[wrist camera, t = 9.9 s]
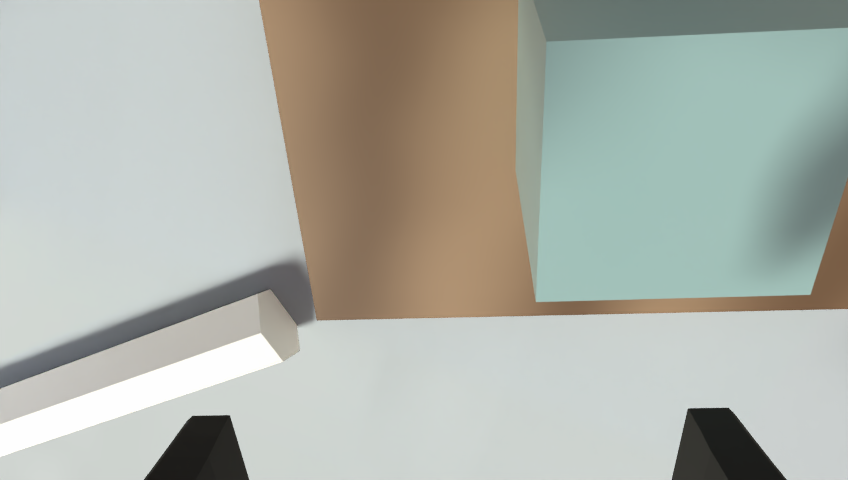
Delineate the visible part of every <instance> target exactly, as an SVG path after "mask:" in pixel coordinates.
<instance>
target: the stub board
mask: <svg viewBox="0 0 848 480" xmlns="http://www.w3.org/2000/svg"><path fill="white" fill-rule="evenodd" d="M259 3H260V8H261V14H262V19H263V25H264V30H265V36H266V41H267V47H268V53H269V58H270V64H271V69H272V75H273V80H274V86H275V91H276V97H277V102H278V108H279V113H280V119H281V125H282V130H283V136H284V141H285V147H286V152H287V158H288V163H289V169H290V174H291V180H292V185H293V191H294V197H295V202H296V208H297V213H298V219H299V224H300V230H301V235H302V241H303V246H304V252H305V257H306V263H307V269H308V274H309V280H310V285H311V291H312V296H313V302H314V307H315V313H316V318H317V320H356V319H402V318H448V317H494V316H540V315H587V314H633V313H679V312H725V311H771V310H817V309H848V178H847V182H846V185H845V188H844V191H843V194H842V197H841V200H840V204H839V207H838V210H837V213H836V216H835V219H834V222H833V225H832V229H831V232H830V235H829V238H828V241H827V244H826V247H825V250H824V254H823V257H822V260H821V263H820V266H819V269H818V272H817V276H816V279H815V282H814V285H813V288H812V291H811V294H810V295H785V296H747V297H709V298H671V299H633V300H596V301H558V302H536V300H535V293H534V287H533V280H532V274H531V267H530V261H529V254H528V248H527V241H526V235H525V228H524V222H523V215H522V209H521V203H520V196H519V190H518V183H517V177H516V170H515V167H516V110H517V52H518V0H259Z"/></svg>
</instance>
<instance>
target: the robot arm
mask: <svg viewBox="0 0 848 480" xmlns="http://www.w3.org/2000/svg"><path fill="white" fill-rule="evenodd" d="M144 480H249V478H248V474H247V471H246V468H245V465H244V461H243V458H242V455H241V451H240V448H239V445H238V441H237V438H236V435H235V431H234V428H233V425H232V421H231V418H230V415H223V416H192V417H191V418H190V419H189V420H188V421H187V422H186V423H185V425H184V426H183V427H182V429H181V430H180V432H179V433H178V434H177V436H176V437H175V438H174V440H173V441H172V442H171V444H170V445H169V447H168V448H167V449H166V451H165V452H164V453H163V455H162V456H161V457H160V459H159V460H158V462H157V463H156V464H155V466H154V467H153V468H152V470H151V471H150V472H149V474H148V475H147V476H146V478H145V479H144ZM672 480H786V478H785V477H784V476H783V475H782V473H781V472H780V471H779V470H778V469H777V467H776V466H775V465H774V464H773V462H772V461H771V460H770V459H769V457H768V456H767V455H766V454H765V452H764V451H763V450H762V449H761V447H760V446H759V445H758V443H757V442H756V441H755V440H754V438H753V437H752V436H751V435H750V433H749V432H748V431H747V429H746V428H745V427H744V426H743V424H742V423H741V422H740V420H739V419H738V418H737V416H736V415H735V414H734V413H733V412H732V411H731V410H730V409H729V408H690V409H688V411H687V415H686V420H685V424H684V428H683V433H682V437H681V442H680V446H679V450H678V455H677V459H676V463H675V468H674V472H673V477H672Z"/></svg>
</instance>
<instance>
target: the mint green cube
mask: <svg viewBox="0 0 848 480" xmlns="http://www.w3.org/2000/svg"><path fill="white" fill-rule="evenodd" d="M515 170H516V177H517V183H518V190H519V196H520V203H521V209H522V215H523V222H524V228H525V235H526V241H527V248H528V254H529V261H530V267H531V274H532V280H533V287H534V293H535V300H536V302H558V301H596V300H633V299H671V298H709V297H747V296H785V295H810V294H811V291H812V288H813V285H814V282H815V279H816V276H817V272H818V269H819V266H820V263H821V260H822V257H823V254H824V250H825V247H826V244H827V241H828V238H829V235H830V232H831V229H832V225H833V222H834V219H835V216H836V213H837V210H838V207H839V204H840V200H841V197H842V194H843V191H844V188H845V185H846V182H847V178H848V0H518V52H517V110H516V167H515Z"/></svg>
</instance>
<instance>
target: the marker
mask: <svg viewBox="0 0 848 480" xmlns="http://www.w3.org/2000/svg"><path fill="white" fill-rule="evenodd" d="M299 351H300V347H299V339H298V330H297V325H296V323H295V322H294V320H293V319H292V318H291V316H290V315H289V314H288V312H287V311H286V310H285V308H284V307H283V306H282V304H281V303H280V302H279V300H278V299H277V298H276V296H275V295H274V293H273V292H272V291H271V289H269V290H266V291H263V292H261V293H258V294H255V295H253V296H250V297H247V298H244V299H242V300H239V301H236V302H234V303H231V304H228V305H225V306H223V307H220V308H217V309H215V310H212V311H209V312H206V313H204V314H201V315H198V316H196V317H193V318H190V319H187V320H185V321H182V322H179V323H177V324H174V325H171V326H168V327H166V328H163V329H160V330H158V331H155V332H152V333H149V334H147V335H144V336H141V337H139V338H136V339H133V340H130V341H128V342H125V343H122V344H120V345H117V346H114V347H111V348H109V349H106V350H103V351H101V352H98V353H95V354H92V355H90V356H87V357H84V358H82V359H79V360H76V361H73V362H71V363H68V364H65V365H63V366H60V367H57V368H54V369H52V370H49V371H46V372H44V373H41V374H38V375H35V376H33V377H30V378H27V379H25V380H22V381H19V382H16V383H14V384H11V385H8V386H6V387H3V388H0V457H1V456H4V455H7V454H9V453H12V452H15V451H18V450H21V449H24V448H27V447H30V446H33V445H36V444H39V443H42V442H45V441H48V440H51V439H54V438H57V437H60V436H63V435H66V434H69V433H72V432H75V431H78V430H81V429H84V428H87V427H90V426H93V425H96V424H99V423H102V422H105V421H108V420H111V419H114V418H117V417H120V416H123V415H126V414H129V413H132V412H135V411H138V410H141V409H144V408H146V407H149V406H152V405H155V404H158V403H161V402H164V401H167V400H170V399H173V398H176V397H179V396H182V395H185V394H188V393H191V392H194V391H197V390H200V389H203V388H206V387H209V386H212V385H215V384H218V383H221V382H224V381H227V380H230V379H233V378H236V377H239V376H242V375H245V374H248V373H251V372H254V371H257V370H260V369H263V368H266V367H269V366H272V365H275V364H278V363H281V362H283V361H285V360H286V359H288V358H289V357H291V356H293V355H294V354H296V353H297V352H299Z"/></svg>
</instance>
